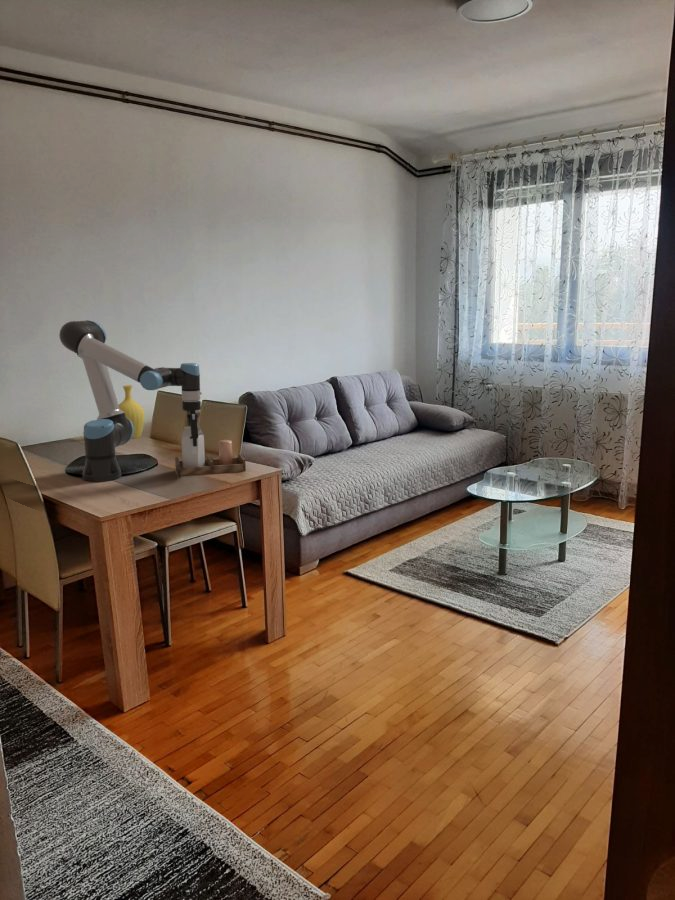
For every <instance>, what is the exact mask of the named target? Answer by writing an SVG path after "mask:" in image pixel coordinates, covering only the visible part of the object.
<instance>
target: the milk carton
mask: <svg viewBox="0 0 675 900" xmlns="http://www.w3.org/2000/svg"><path fill="white" fill-rule="evenodd" d="M197 428H198V453H199V454H192V449H191V439H190V437H191V428H190V426H188V425H187V426H186V425H185V426H184V429H183V431H182V434H181V436H180V437H181V455H182V458H181V459H182V460H181V461H183V468H185V467H201V466H205V459H206V457H205V455H206V454H205V453H206V452H205V435H204V433H203V431H202V430H201V426H197Z"/></svg>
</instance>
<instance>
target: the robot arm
mask: <svg viewBox="0 0 675 900" xmlns="http://www.w3.org/2000/svg"><path fill="white" fill-rule="evenodd" d="M58 336H59V340H60V342H61V345H63V347H65V348H66V349H67V350H69V351H71V352H72V353H74V354H76V355H77V357H78V358H80V359H82V363H83V365H84V368H85V372H86V375H87V378H88V381H89V385H90V387H91V391H92V394H93V398H94V401H95V402H94V403H95V405H96V407H97V410H98V416H97V418H96V419H95V420H90V421H87V422H86V423H85V424H84V425H83V433H82V434H83V439H84V441H83V442H84V451H85V462H84V467H83V470H82V475H81V476H82V480H83V481H87V482H107V481H113V480H117V479H120V478H121V477H122V471H121V467H120V465H119V463H118V460H117V457H116V447H119V446H123V445H125V444H127V443H128V442H130V441H131V440H132V439H131V438H132V436H133V434H134V426H133V424H132V422H131V421H130V420H129V419H128V418H126V416H125V412H124V411H122V410H120V408H119V402H118V399H117V396H116V393H115V389H114V386H113V383H112V379H111V376H110V373H109V370H108V369H111V370H114V371H116V372H117V373H119V374H122V375H124V376H125V377H128V378H129V379H132V380H133V381H135V382H137V383H139V384H140V385H141V386H142V388H143V390H147V391H155V390H158V389H163V388H166V387H181V399H182V403H181V404H182V405H181V406H182V408H181V409H182V410H183V411H184V412H187V414H186V419H187V426H190V428H191V437H190V439H191V449H192V454H199V453H198V428H197V427H198V414H197V413H196V412H197V411H200V410H201V409H202V404H201V403H202V402H201V401H200V400H201V396H202V395H203V393H202V392H201V379H200V378H201V373H200V365H199V364H198V363H197V362H184V363H181V364H180V367H164V366H163V367H155V368H153V367H151V366H149V365H147V364H145V363H144V362H141V361H139V360H137V359H135V358H133V357H132V356H129V355H128V354H125V353H124V352H121V351H120V350H118V349H116V348H113V347H112V346H110V345H108V344H107V343H106V341H107V333H106V330H105V328H104V327H103V325H101V324H100V323H98V322H96V321H92V320H77V321H76V320H70V321H68V322H66V323H64V324H63V325H62V326H61V328H60V330H59V335H58Z"/></svg>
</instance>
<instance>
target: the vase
mask: <svg viewBox="0 0 675 900" xmlns="http://www.w3.org/2000/svg"><path fill="white" fill-rule="evenodd" d="M122 388H123V391H124V395H125V396H124V400H122V402H120V403H118V405H119V408H120V410H122V411H124V412H125V416H126V418H128V419H129V420H130V421H131V422H132V424H133V426H134V434H133V436H132V438H131V439H130V440H132V439H138V438H140V437H141V436H142V433H143V430H144V426H145V420H146V414H145V413H146V412H145V410H144V409H143V406H142V405H140V403H138V402H136V401H135V400H133V398H132V394H131V393H132V388H133V385H131V384H127V385H123V386H122Z"/></svg>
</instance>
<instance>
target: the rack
mask: <svg viewBox="0 0 675 900" xmlns="http://www.w3.org/2000/svg"><path fill="white" fill-rule="evenodd" d="M174 459H175V472H176V476H177V479H181V478H182V477H181V476H195V475H208V474H209V475H210V474H223V473H224V474H225V473H237V472H238V473H239V472H246V468H247V467H246V459H245V457H244V456H243V455H242V453H241V452H237V456H236V457H232V460H233V464H232V465H219V458H212V457H211V455H210V454H206V458H205V466H201V467H185V468H183V461H182V460H180V459H179V457H178V456H174Z"/></svg>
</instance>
